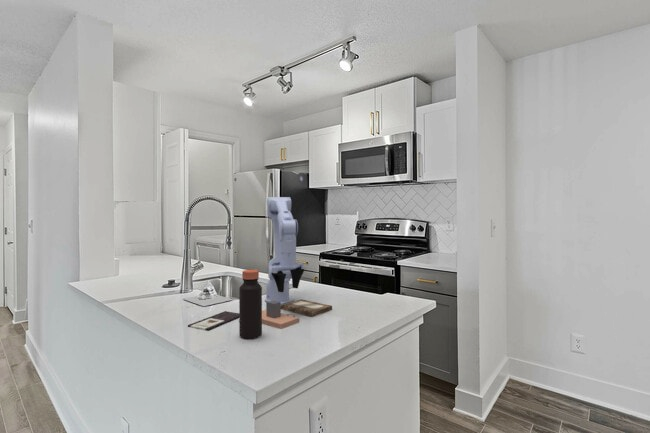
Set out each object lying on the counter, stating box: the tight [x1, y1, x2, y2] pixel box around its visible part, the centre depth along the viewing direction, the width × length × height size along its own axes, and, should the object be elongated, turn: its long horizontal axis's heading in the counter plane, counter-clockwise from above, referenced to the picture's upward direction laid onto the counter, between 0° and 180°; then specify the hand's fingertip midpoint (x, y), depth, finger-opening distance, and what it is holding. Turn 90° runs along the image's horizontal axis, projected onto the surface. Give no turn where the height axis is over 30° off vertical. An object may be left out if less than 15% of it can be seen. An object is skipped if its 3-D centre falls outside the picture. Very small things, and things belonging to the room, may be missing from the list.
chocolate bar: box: [187, 310, 239, 332], centre depth 126 cm, size 9×1×18 cm
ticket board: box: [281, 298, 333, 318], centre depth 140 cm, size 16×12×2 cm
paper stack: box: [183, 294, 234, 309], centre depth 152 cm, size 23×25×1 cm
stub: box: [262, 300, 300, 330], centre depth 126 cm, size 16×9×6 cm, turn 52°
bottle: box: [238, 269, 263, 340], centre depth 111 cm, size 7×7×20 cm
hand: (288, 289), depth 132 cm, fingers open, 7 cm apart
